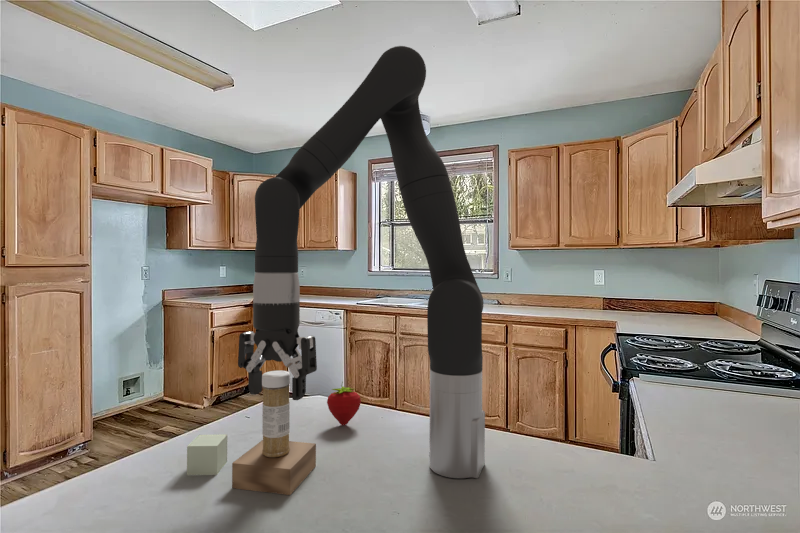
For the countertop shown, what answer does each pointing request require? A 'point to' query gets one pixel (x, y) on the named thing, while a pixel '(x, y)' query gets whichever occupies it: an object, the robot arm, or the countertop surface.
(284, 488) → the walnut block
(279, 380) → the sprinkles bottle
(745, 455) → the countertop surface
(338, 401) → the strawberry
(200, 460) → the sage cube
